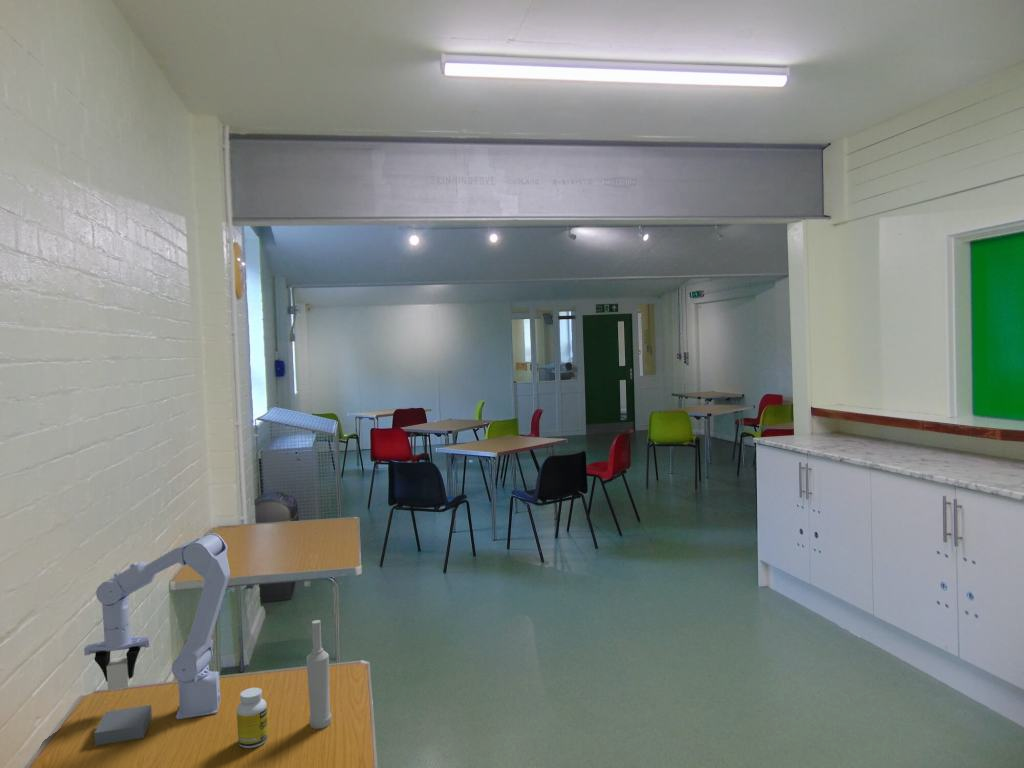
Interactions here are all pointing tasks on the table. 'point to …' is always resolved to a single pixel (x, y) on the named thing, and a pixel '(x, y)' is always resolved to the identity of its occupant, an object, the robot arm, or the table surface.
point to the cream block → (118, 673)
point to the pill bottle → (252, 718)
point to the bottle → (318, 681)
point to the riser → (123, 725)
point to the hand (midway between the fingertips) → (120, 678)
